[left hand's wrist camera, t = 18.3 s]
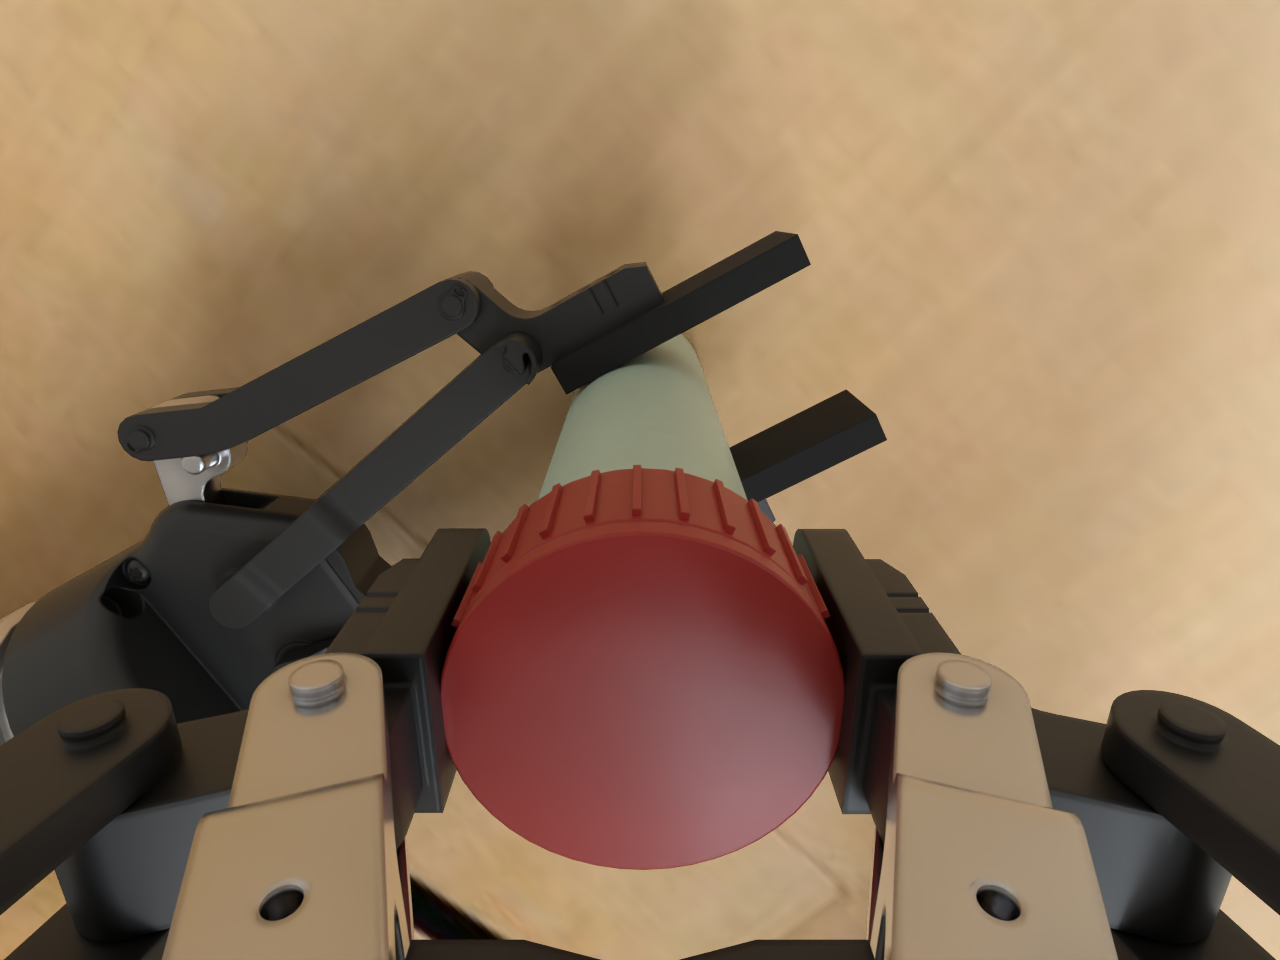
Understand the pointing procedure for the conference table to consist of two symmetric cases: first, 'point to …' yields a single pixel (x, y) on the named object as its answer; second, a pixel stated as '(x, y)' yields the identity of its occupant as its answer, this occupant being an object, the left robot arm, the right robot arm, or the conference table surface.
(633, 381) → the pale green bottle
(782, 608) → the lid
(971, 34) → the conference table surface
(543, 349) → the right robot arm
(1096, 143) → the conference table surface
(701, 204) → the conference table surface
